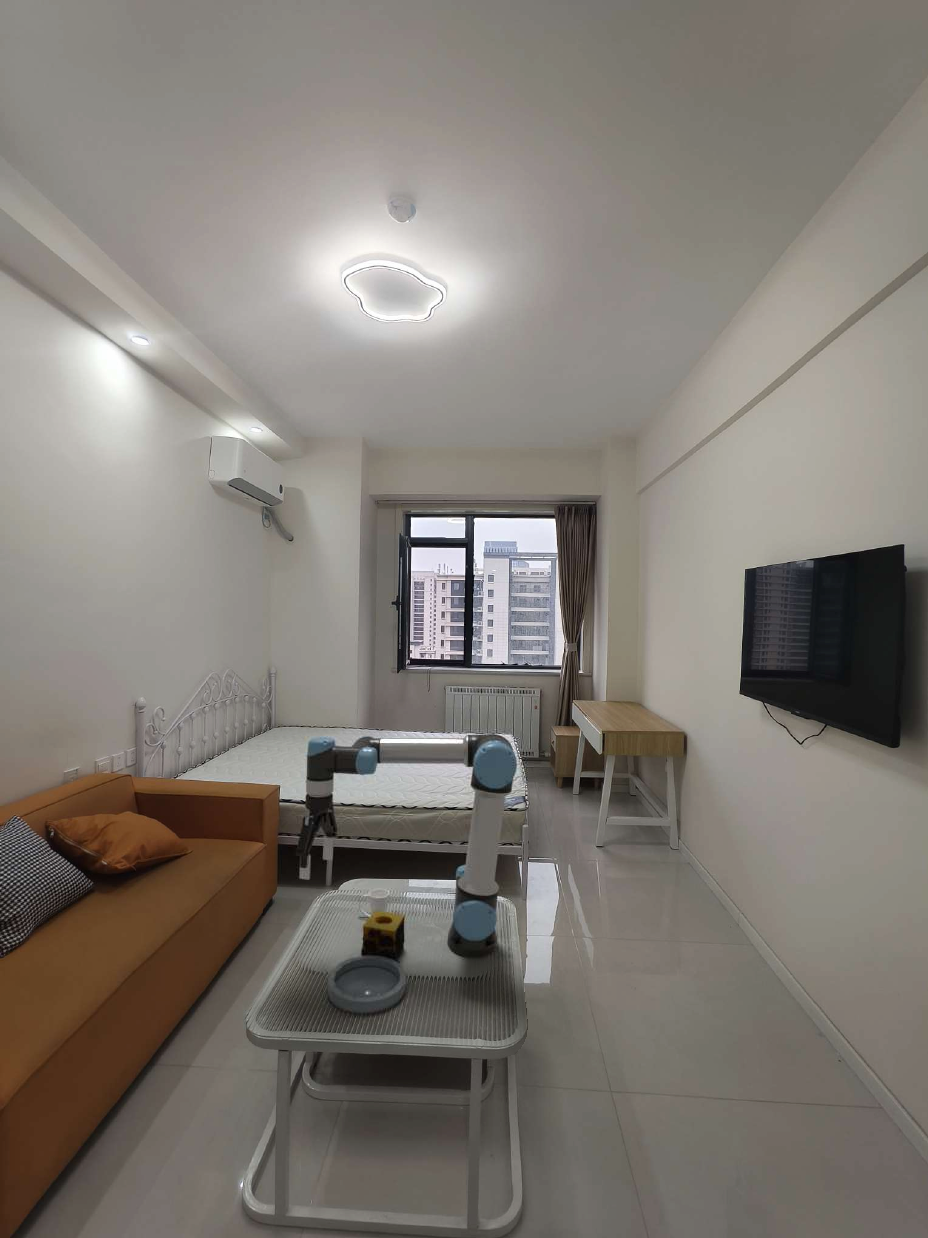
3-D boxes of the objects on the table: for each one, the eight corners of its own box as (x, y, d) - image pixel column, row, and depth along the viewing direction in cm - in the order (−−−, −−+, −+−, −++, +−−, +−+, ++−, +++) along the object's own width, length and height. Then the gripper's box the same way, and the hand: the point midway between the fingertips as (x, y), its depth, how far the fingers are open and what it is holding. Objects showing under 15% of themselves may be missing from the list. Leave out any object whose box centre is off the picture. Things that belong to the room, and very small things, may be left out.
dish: (408, 968, 164) (409, 957, 164) (400, 1015, 144) (401, 1003, 144) (337, 964, 164) (337, 954, 164) (319, 1012, 144) (320, 999, 144)
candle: (394, 968, 164) (395, 932, 164) (360, 962, 166) (361, 926, 166) (404, 948, 174) (406, 914, 174) (372, 943, 176) (374, 909, 176)
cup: (386, 924, 187) (387, 899, 187) (355, 921, 188) (357, 896, 188) (390, 913, 194) (392, 889, 194) (361, 911, 195) (362, 886, 195)
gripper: (327, 781, 179) (325, 851, 179) (284, 804, 155) (280, 885, 154) (350, 783, 177) (347, 854, 177) (309, 807, 153) (306, 889, 153)
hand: (316, 868), depth 166 cm, fingers open, 13 cm apart
